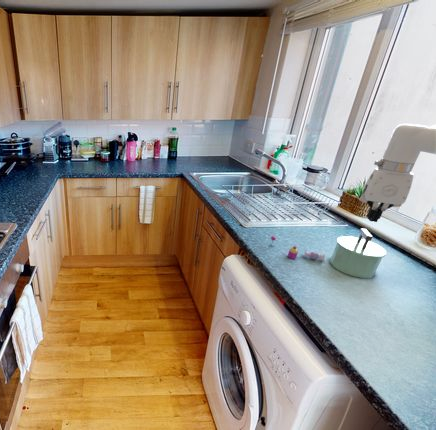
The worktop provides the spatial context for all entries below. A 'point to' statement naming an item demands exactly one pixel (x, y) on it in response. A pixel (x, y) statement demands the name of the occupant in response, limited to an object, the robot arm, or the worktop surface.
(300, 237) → the worktop surface
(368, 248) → the lid
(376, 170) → the robot arm
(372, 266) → the canister
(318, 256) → the candies
